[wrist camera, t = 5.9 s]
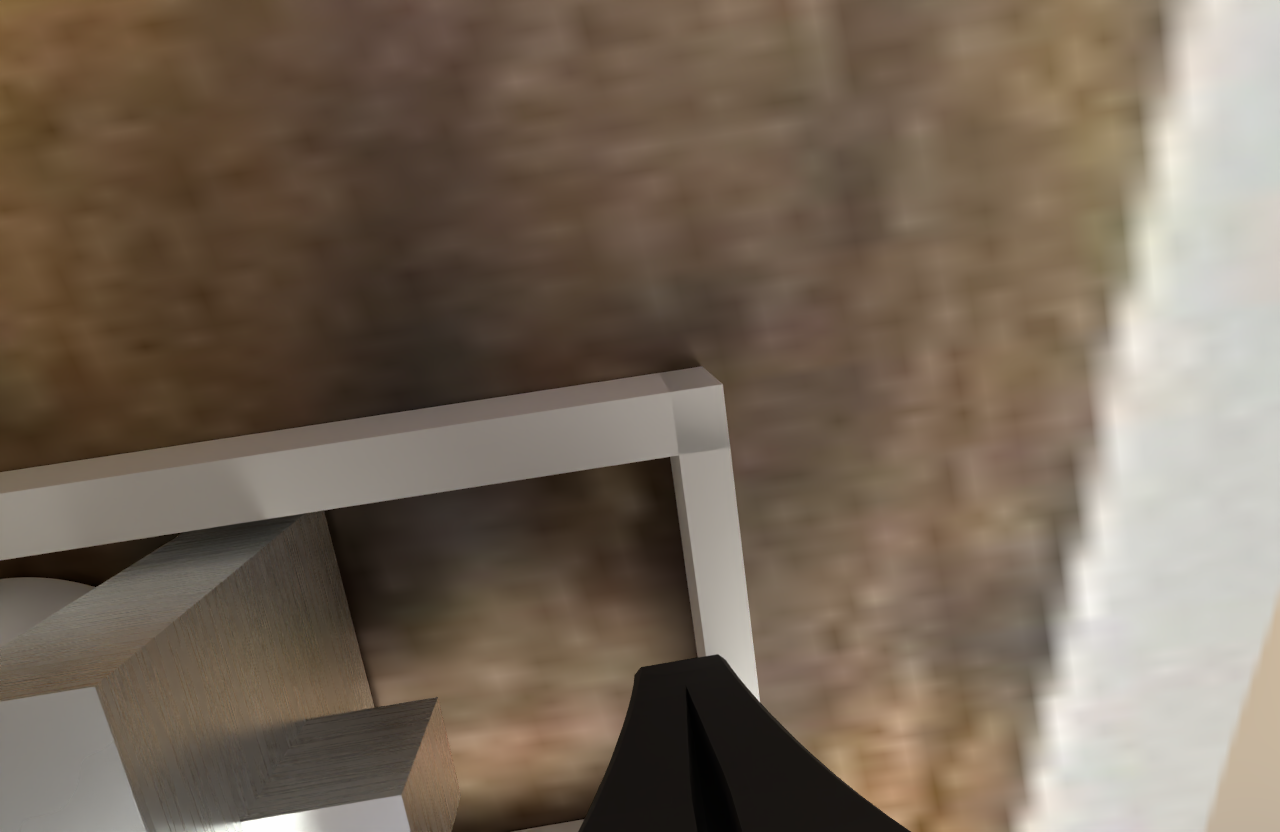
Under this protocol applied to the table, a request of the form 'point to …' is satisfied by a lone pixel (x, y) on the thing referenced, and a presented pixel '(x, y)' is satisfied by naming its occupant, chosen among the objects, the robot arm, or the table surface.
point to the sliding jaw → (215, 701)
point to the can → (33, 602)
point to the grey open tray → (420, 480)
